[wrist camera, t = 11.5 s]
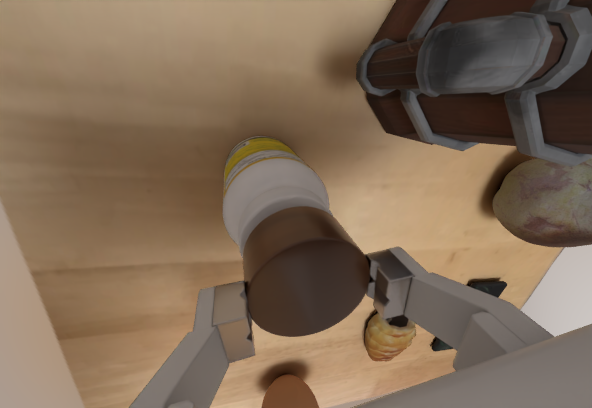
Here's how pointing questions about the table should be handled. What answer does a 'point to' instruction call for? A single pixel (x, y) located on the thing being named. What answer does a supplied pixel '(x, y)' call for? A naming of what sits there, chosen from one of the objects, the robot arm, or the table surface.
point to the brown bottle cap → (302, 272)
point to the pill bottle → (266, 185)
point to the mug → (486, 75)
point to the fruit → (547, 203)
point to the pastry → (388, 336)
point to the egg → (289, 394)
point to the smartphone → (485, 287)
